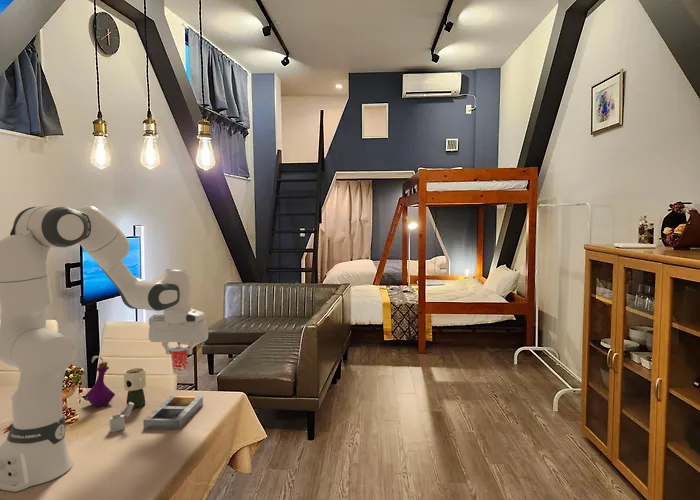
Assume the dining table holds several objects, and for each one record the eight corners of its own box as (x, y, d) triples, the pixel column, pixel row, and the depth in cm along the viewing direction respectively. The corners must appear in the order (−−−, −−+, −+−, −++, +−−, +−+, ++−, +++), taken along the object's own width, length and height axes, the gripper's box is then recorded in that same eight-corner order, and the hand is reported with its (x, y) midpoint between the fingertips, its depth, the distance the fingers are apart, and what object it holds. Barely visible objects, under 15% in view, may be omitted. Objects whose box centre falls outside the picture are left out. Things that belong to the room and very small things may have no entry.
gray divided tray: (143, 428, 151) (143, 419, 151) (170, 404, 171) (170, 396, 170) (179, 429, 150) (179, 420, 150) (202, 404, 170) (202, 396, 170)
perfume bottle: (105, 398, 176) (103, 351, 175) (115, 403, 172) (113, 355, 171) (84, 405, 170) (82, 356, 169) (94, 409, 166) (92, 360, 165)
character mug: (120, 404, 171) (118, 369, 170) (140, 398, 176) (138, 365, 175) (131, 413, 163) (130, 376, 162) (152, 407, 168) (150, 371, 167)
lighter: (111, 432, 148) (109, 408, 148) (109, 430, 150) (108, 406, 149) (135, 426, 153) (134, 402, 152) (133, 424, 154) (132, 400, 153)
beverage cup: (187, 374, 161) (185, 334, 160) (168, 375, 161) (167, 335, 159) (190, 368, 167) (189, 330, 166) (173, 369, 167) (171, 330, 166)
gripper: (144, 316, 160) (145, 356, 161) (202, 317, 159) (204, 356, 160) (152, 313, 166) (154, 351, 167) (209, 313, 165) (210, 351, 166)
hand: (179, 354), depth 163 cm, fingers closed on beverage cup, 6 cm apart
